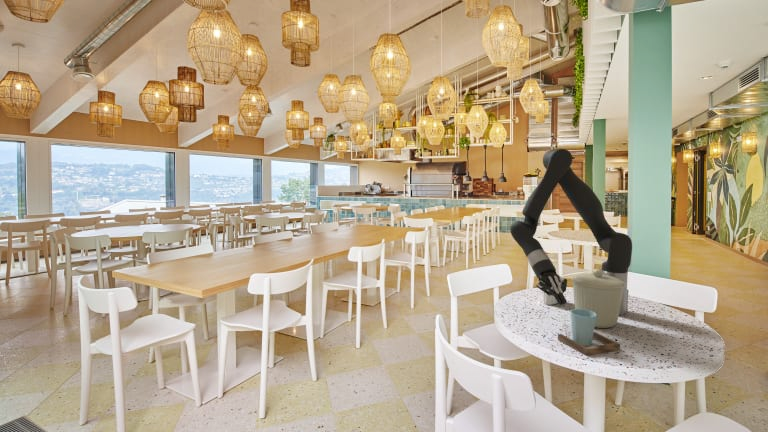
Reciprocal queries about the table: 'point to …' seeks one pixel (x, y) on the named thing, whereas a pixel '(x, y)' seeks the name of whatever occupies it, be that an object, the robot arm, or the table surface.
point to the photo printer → (550, 298)
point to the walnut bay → (607, 347)
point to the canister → (599, 296)
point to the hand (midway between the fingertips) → (563, 304)
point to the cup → (583, 326)
